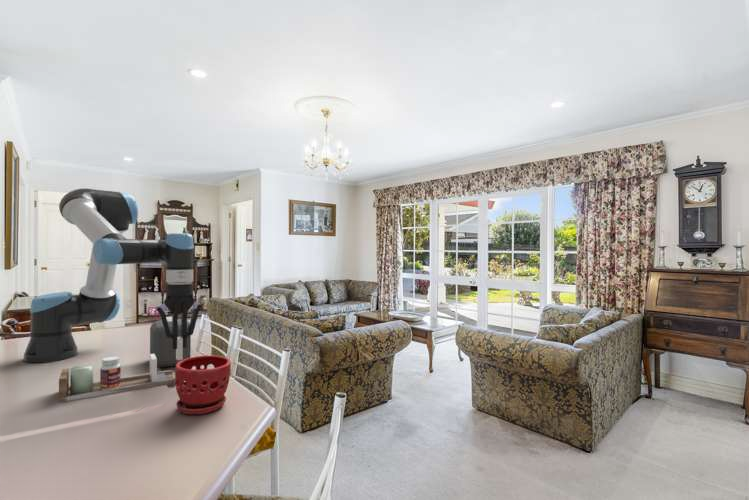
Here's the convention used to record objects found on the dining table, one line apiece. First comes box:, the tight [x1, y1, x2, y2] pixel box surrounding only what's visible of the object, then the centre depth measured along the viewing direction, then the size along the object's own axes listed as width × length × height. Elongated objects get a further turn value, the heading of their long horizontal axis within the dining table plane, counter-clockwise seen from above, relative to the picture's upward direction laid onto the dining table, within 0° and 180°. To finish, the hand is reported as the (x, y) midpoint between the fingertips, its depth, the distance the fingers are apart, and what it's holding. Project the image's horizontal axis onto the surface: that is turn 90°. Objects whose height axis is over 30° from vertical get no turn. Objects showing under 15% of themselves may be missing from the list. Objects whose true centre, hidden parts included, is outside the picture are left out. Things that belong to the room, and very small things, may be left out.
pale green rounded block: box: [69, 364, 94, 395], centre depth 104 cm, size 5×5×7 cm
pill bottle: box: [99, 356, 122, 390], centre depth 108 cm, size 5×5×8 cm
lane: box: [58, 367, 176, 404], centre depth 110 cm, size 10×27×7 cm, turn 125°
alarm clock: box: [149, 316, 192, 368], centre depth 136 cm, size 16×11×16 cm
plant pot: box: [174, 355, 232, 415], centre depth 98 cm, size 13×13×12 cm
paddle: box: [149, 353, 167, 382], centre depth 115 cm, size 7×4×7 cm, turn 35°
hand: (179, 358), depth 118 cm, fingers closed
